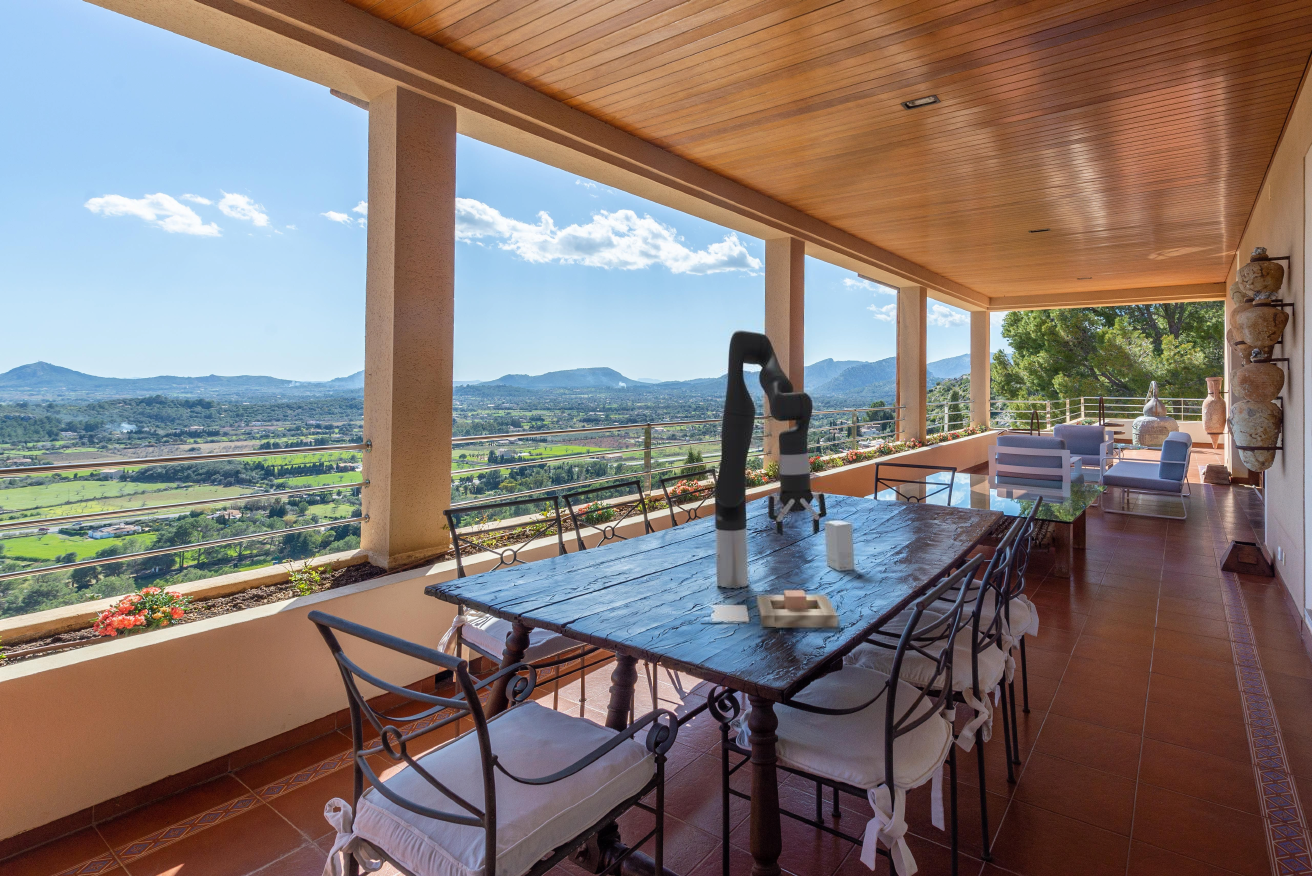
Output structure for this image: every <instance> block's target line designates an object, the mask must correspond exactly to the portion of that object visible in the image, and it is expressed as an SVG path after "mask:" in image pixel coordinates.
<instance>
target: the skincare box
mask: <svg viewBox="0 0 1312 876" xmlns="http://www.w3.org/2000/svg"><path fill="white" fill-rule="evenodd" d="M824 535H825V538H824V539H825V553H826V554H825V556H826V566H827V567H829V566H830V567H829V568H832V569H834V570H836V571H838V572H841V571H842V572H843V571H854V570H855V553H854V552H855V551H854V536H853V524H852V523H850V522H847V521H844V520H841V519H839V520H829V521H824Z"/></svg>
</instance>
